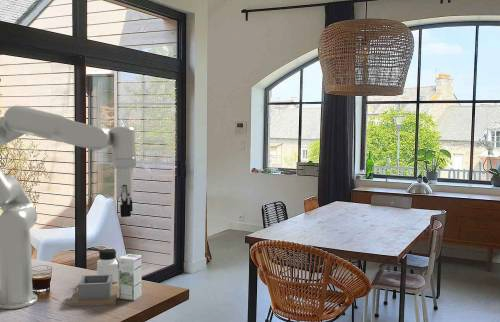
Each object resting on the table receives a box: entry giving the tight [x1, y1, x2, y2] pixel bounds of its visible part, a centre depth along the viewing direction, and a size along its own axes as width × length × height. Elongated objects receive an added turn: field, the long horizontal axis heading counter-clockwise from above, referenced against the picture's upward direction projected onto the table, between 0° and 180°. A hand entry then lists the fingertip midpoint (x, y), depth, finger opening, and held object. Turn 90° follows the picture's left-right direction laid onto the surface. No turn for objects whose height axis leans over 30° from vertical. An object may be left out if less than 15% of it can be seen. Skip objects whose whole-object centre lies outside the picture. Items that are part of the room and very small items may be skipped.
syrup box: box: [118, 253, 143, 302], centre depth 169 cm, size 6×6×14 cm
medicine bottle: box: [96, 247, 119, 284], centre depth 187 cm, size 7×7×12 cm
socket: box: [70, 274, 119, 307], centre depth 168 cm, size 14×14×6 cm
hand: (126, 213), depth 167 cm, fingers open, 9 cm apart
